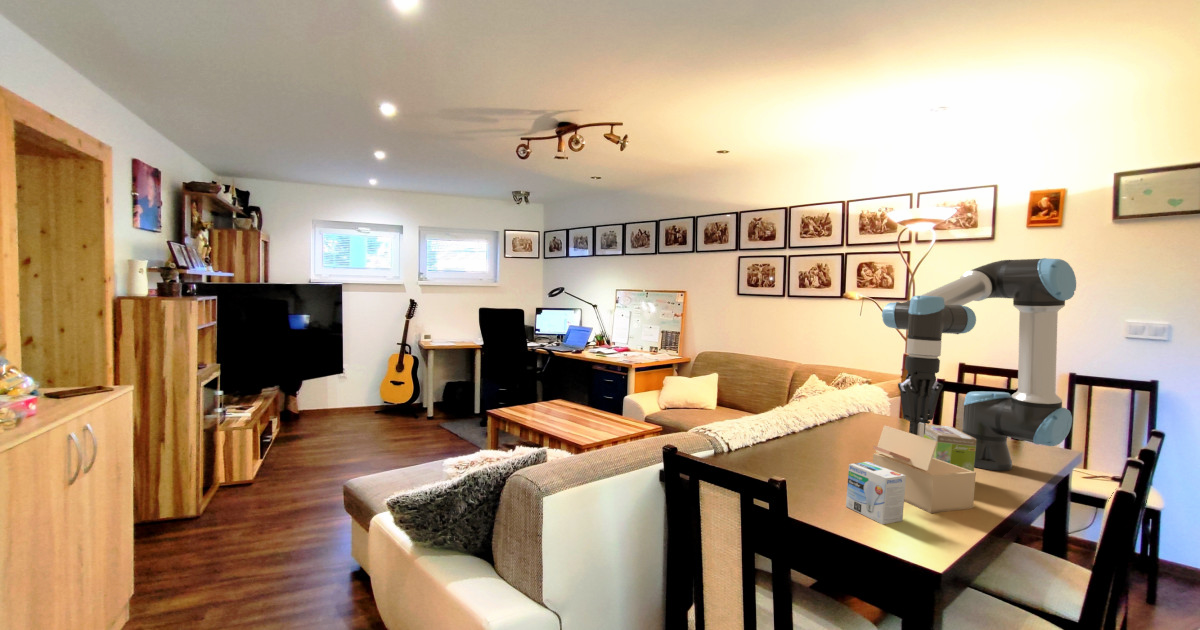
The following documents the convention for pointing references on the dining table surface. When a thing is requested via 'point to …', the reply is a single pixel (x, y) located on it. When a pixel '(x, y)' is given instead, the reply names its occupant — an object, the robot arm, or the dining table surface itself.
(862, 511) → the light bulb box
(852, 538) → the dining table surface
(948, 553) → the dining table surface
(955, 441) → the tea box
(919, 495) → the carton
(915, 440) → the flap
